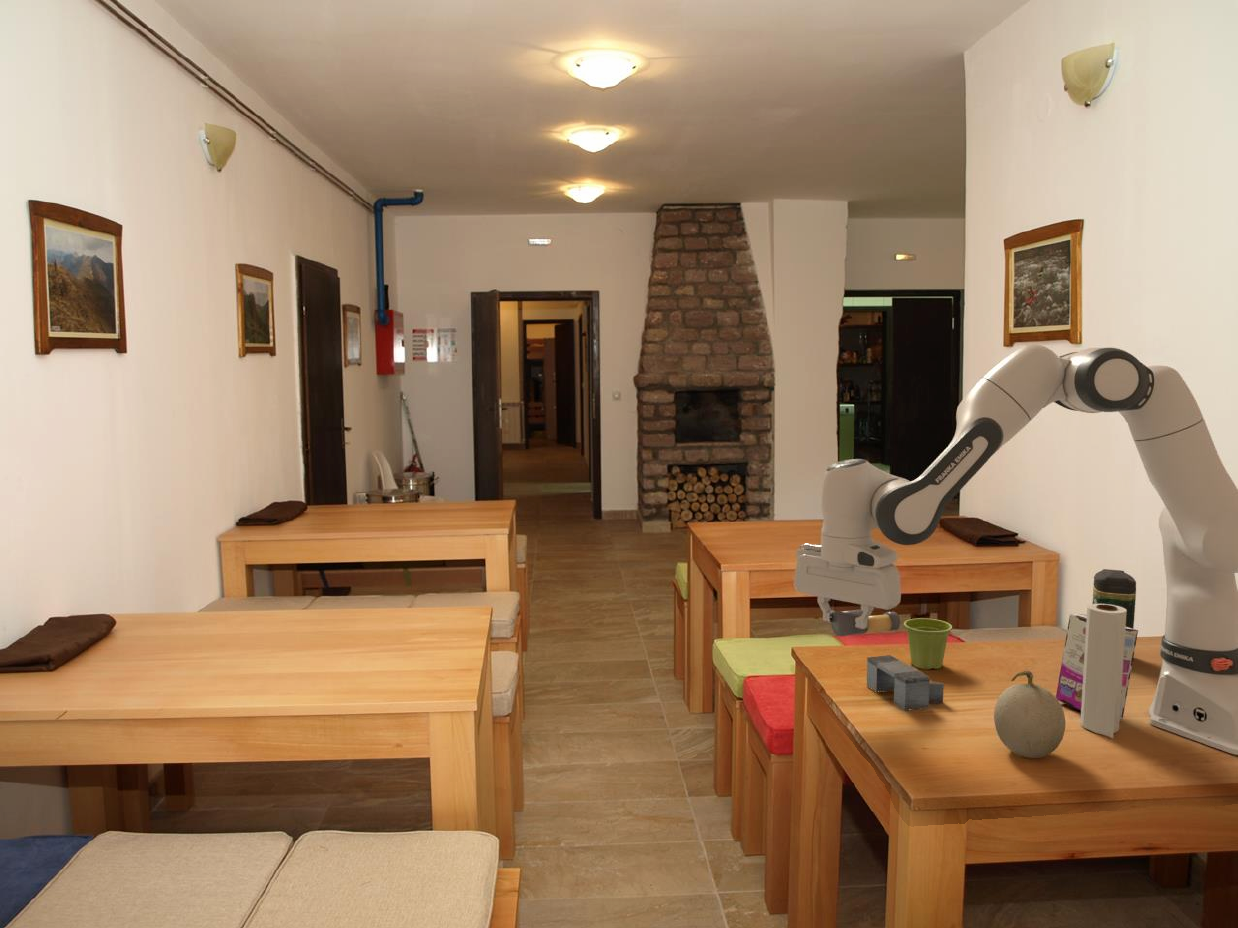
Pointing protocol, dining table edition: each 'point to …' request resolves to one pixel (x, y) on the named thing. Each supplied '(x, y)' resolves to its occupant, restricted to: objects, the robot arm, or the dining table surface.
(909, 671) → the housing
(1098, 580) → the coffee jar
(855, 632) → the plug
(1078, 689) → the candy bar box
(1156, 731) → the dining table surface
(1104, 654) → the paper towel roll
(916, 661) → the plant pot
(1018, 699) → the fruit
